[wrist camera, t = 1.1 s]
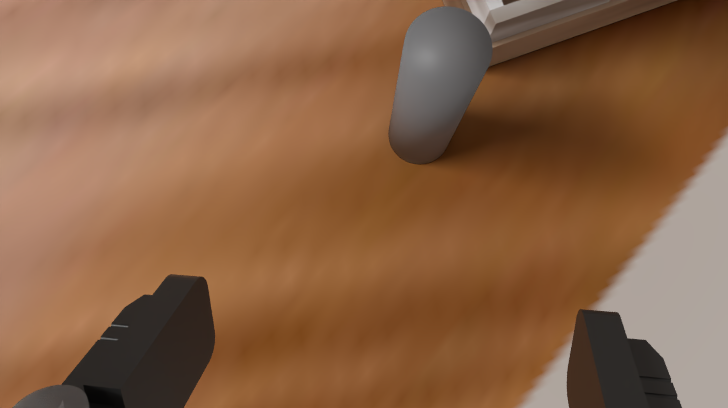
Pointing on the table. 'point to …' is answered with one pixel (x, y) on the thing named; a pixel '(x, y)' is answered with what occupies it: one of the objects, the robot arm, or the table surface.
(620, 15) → the upturned partly assembled table
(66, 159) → the table surface
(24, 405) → the robot arm
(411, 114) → the loose leg
